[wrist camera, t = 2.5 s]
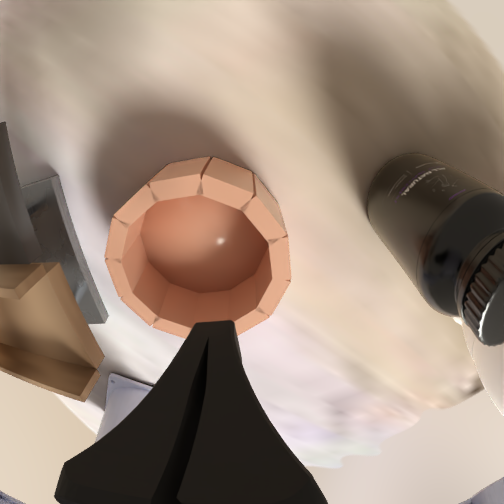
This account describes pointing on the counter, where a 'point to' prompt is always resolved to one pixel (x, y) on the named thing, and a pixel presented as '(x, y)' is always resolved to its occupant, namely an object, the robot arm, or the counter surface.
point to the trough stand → (62, 244)
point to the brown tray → (38, 303)
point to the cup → (200, 248)
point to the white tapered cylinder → (487, 365)
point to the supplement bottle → (444, 238)
